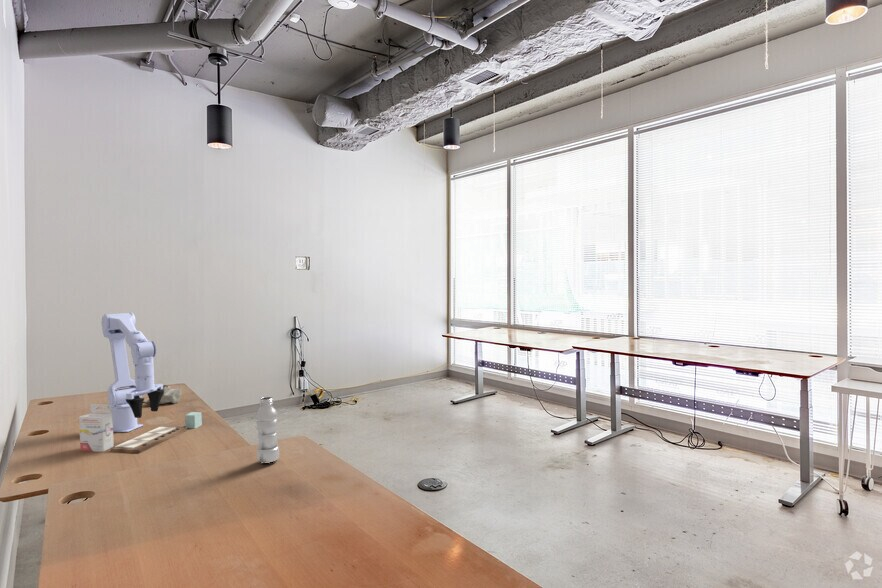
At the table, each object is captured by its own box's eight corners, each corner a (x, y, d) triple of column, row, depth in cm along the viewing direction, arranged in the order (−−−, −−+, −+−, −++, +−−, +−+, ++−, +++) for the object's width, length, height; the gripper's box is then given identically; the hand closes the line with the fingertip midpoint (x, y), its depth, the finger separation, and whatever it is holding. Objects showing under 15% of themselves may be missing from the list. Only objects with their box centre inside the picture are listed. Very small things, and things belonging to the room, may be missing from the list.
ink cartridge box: (79, 451, 163) (77, 407, 162) (91, 446, 168) (89, 403, 167) (103, 452, 162) (101, 408, 161) (114, 446, 167) (112, 404, 166)
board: (110, 451, 162) (110, 447, 162) (160, 429, 185) (160, 425, 185) (139, 453, 160) (139, 449, 160) (187, 430, 183) (186, 426, 183)
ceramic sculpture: (176, 386, 217) (140, 389, 215) (178, 405, 217) (142, 409, 215) (185, 381, 227) (151, 384, 225) (187, 399, 228) (152, 402, 226)
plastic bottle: (284, 459, 153) (282, 396, 152) (268, 468, 147) (266, 402, 146) (268, 456, 156) (266, 394, 155) (252, 464, 150) (250, 400, 149)
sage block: (185, 428, 186) (185, 415, 186) (192, 424, 190) (192, 412, 190) (195, 428, 185) (194, 415, 185) (201, 425, 189) (201, 412, 189)
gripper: (138, 381, 163) (140, 421, 164) (169, 372, 178) (171, 408, 178) (120, 380, 165) (122, 420, 165) (152, 371, 179) (154, 408, 180)
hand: (146, 414), depth 172 cm, fingers open, 7 cm apart
